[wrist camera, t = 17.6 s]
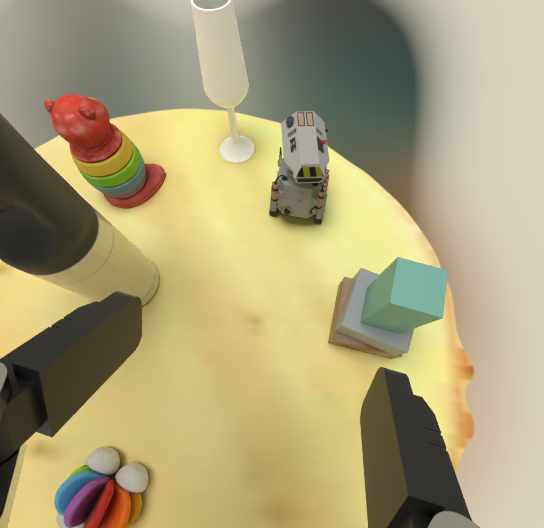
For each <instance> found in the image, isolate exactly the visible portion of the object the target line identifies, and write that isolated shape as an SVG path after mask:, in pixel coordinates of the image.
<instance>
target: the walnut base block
mask: <svg viewBox="0 0 544 528" xmlns="http://www.w3.org/2000/svg"><path fill="white" fill-rule="evenodd" d="M352 280H353V279H351V278H347V277H344V279H343V280H342V282H341V283H340V284H339V287H338V293H337V298H336V303H335V309H334V314H333V319H332V325H331V330H330V336H329V341H328V343H332V344H336V345H339V346H343V347H347V348H351V349H355V350H359V351H363V352H366V353H370V354H374V355H378V356H382V357H386V358H390V359H391V358H397V357H402V354H397V355H392V354H389V353H387V352H384V351H382V350H379V349H377V348H375V347H372V346H370V345H367V344H365V343H362V342H360V341H358V340H355V339H353V338H350V337H348V336H345V335H343V334H341V333H338V332H336V331H335V329H336V326H337V324H338V321H339V318H340V315H341V312H342V309H343V306H344V303H345V300H346V297H347V294H348V291H349V288H350V285H351V283H352Z"/></svg>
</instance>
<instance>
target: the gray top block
mask: <svg viewBox="0 0 544 528" xmlns="http://www.w3.org/2000/svg"><path fill="white" fill-rule="evenodd" d="M378 276H379V275H378V274H376V273H373V272H370V271H368V270H365V269H362V268H361V269H360V270H359V271H358V273H357V274H356V275H355V277H354V278H353V280H352V283H351V285H350V288H349V291H348V294H347V297H346V300H345V303H344V306H343V309H342V312H341V315H340V318H339V321H338V324H337V326H336V329H335V331H336V332H338V333H341V334H343V335H345V336H348V337H350V338H353V339H355V340H358V341H360V342H362V343H365V344H367V345H370V346H372V347H375V348H377V349H379V350H382V351H384V352H387V353H389V354H392V355H397V354H403V353H408V349H409V345H410V341H411V337H412V333H413V329H414V328H413V329H410V330H408V331H405V332H402V333H399V334H397V333H394V332H391V331H387V330H384V329H381V328H377V327H374V326H371V325H367V324H364V323H361V322H360V320H361V315H362V310H363V305H364V300H365V295H366V291H367V287H368V286H369V285H370V284H371V283H372V282H373V281H374V280H375V279H376V278H377V277H378Z"/></svg>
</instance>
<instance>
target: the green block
mask: <svg viewBox="0 0 544 528" xmlns="http://www.w3.org/2000/svg"><path fill="white" fill-rule="evenodd" d="M447 274H448V271H447V270H444V269H440V268H436V267H433V266H429V265H425V264H422V263H418V262H414V261H410V260H407V259H403V258H399V257H398V258H397V259H395V260H394V261H393V262H392V263H391V264H390V265H389V266H388V267H387V268H386V269H385V270H384V271H383V272H382V273H381V274H380V275H379V276H378V277H377V278H376V279H375V280H374V281H373V282H372V283H371V284H370V285H369V286H368V287H367V291H366V295H365V300H364V305H363V310H362V315H361V320H360V322H361V323H364V324H367V325H371V326H374V327H377V328H381V329H384V330H387V331H391V332H394V333H397V334H399V333H402V332H405V331H408V330H410V329H413V328H416V327H419V326H422V325H425V324H427V323H430V322H433V321H436V320H439V319H442V318H443V311H444V302H445V292H446V283H447Z"/></svg>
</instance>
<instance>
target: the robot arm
mask: <svg viewBox="0 0 544 528" xmlns="http://www.w3.org/2000/svg"><path fill="white" fill-rule="evenodd" d="M0 259H1V260H2V261H3V262H5V263H6V264H8V265H10V266H12V267H14V268H16V269H19V270H21V271H24V272H26V273H29V274H31V275H34V276H36V277H39V278H41V279H43V280H46V281H48V282H50V283H53V284H56V285H58V286H60V287H63V288H65V289H67V290H70V291H72V292H74V293H77V294H79V295H82V296H84V297H86V298H89V299H91V300H93V301H96V302H93V303H90V304H87V305H85V306H82V307H79V308H77V309H76V310H74V311H73V312H71V313H70V314H68V315H67V316H65V317H64V319H61V320H59V321H58V322H56V323H55V324H53V325H52V327H51V328H50V327H48V328H47V329H45V330H44V331H42V332H41V333H39V334H38V335H36V336H35V337H33V338H32V339H30V340H29V341H27V342H25V343H24V344H22V345H21V346H19V347H18V348H16V349H15V350H13V351H12V352H10V353H9V354H7V355H6V356H4V357H3V358H1V359H0V528H8V522H9V518H10V514H11V510H12V506H13V502H14V497H15V493H16V489H17V485H18V481H19V477H20V473H21V468H22V464H23V460H24V456H25V452H26V446H27V445H26V441H27V440H28V439H29V438H30V437H31V436H32V435H33V434H34V433H35V432H39V433H41V434H44V435H47V436H50V437H53V436H54V435H55V434H56V433H57V432H58V431H59V430H60V429H61V427H62V426H63V425H64V424H65V423H66V422H67V421H68V420H69V419H70V418H71V417H72V416H73V415H74V414H75V413H76V412H77V411H78V410H79V409H80V408H81V407H82V406H83V404H84V403H85V402H86V401H87V400H88V399H89V398H90V397H91V396H92V395H93V394H94V393H95V392H96V391H97V390H98V389H99V388H100V387H101V386H102V385H103V384H104V383H105V381H106V380H107V379H108V378H109V377H110V376H111V375H112V374H113V373H114V372H115V371H116V370H117V369H118V368H119V367H120V366H121V365H122V364H123V363H124V362H125V361H126V359H127V358H128V357H129V356H130V355H131V354H132V353H133V352H134V351H135V350H136V348H137V347H138V345H139V342H140V340H141V335H142V306H144V305H145V304H146V303H148V302H149V301H150V300H151V298H152V297H153V296H154V294H155V293H156V291H157V288H158V285H159V273H158V270H157V268H156V266H155V265H154V264H153V263H152V262H151V261H150V260H149V259H148V258H147V257H146V256H145V255H144V254H143V253H142V252H141V251H140V250H139V249H138V248H136V247H135V246H134V245H133V244H132V243H131V242H130V241H129V240H128V239H127V238H126V237H125V236H124V235H122V234H121V233H120V232H119V231H118V230H117V229H116V228H115V227H114V226H113V225H112V224H111V223H110V222H108V221H107V220H106V219H105V218H104V217H103V216H102V215H101V214H100V213H99V212H97V211H96V210H95V209H94V208H93V207H92V206H91V205H90V204H89V203H88V202H87V201H85V200H84V199H83V198H82V197H81V196H80V195H79V194H78V193H77V192H76V191H75V190H74V189H73V188H72V187H71V186H70V184H69V183H68V182H67V181H66V180H65V179H63V178H62V177H61V176H60V175H59V174H58V173H57V172H56V171H55V170H54V169H53V168H52V167H51V166H50V165H49V164H48V163H47V162H46V161H45V160H44V159H43V158H42V157H41V156H40V155H39V154H38V153H37V152H36V151H35V150H34V149H33V148H32V147H31V146H30V144H29V143H28V142H27V141H26V140H25V139H24V138H23V137H22V136H21V135H20V134H19V133H18V132H17V131H16V130H15V129H14V127H13V126H12V125H11V124H10V123H9V122H8V121H7V120H6V119H5V118H4V117H3V116H2V115H1V114H0ZM360 425H361V438H362V451H363V464H364V477H365V490H366V503H367V516H368V528H480V527H479V526H477V525H476V524H475V523H474V522H472V519H471V517H470V514H469V512H468V509H467V506H466V503H465V500H464V498H463V494H462V491H461V489H460V486H459V483H458V480H457V477H456V474H455V471H454V468H453V466H452V463H451V460H450V457H449V454H448V452H447V451H446V445H445V443H444V440H443V437H442V436H441V431H440V428H439V425H438V422H437V420H436V417H435V414H434V413H433V411H432V410H431V409H430V407H429V406H428V404H427V403H426V402H425V400H424V399H423V398H422V397H420V396H416V395H413V392H412V389H411V385H410V382H409V378H408V376H407V375H406V374H404V373H400V372H397V371H393V370H390V369H386V368H383V367H380V368H379V369H378V370H377V372H376V374H375V377H374V379H373V381H372V383H371V386H370V388H369V390H368V392H367V395H366V397H365V399H364V401H363V405H362V409H361V416H360Z"/></svg>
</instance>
